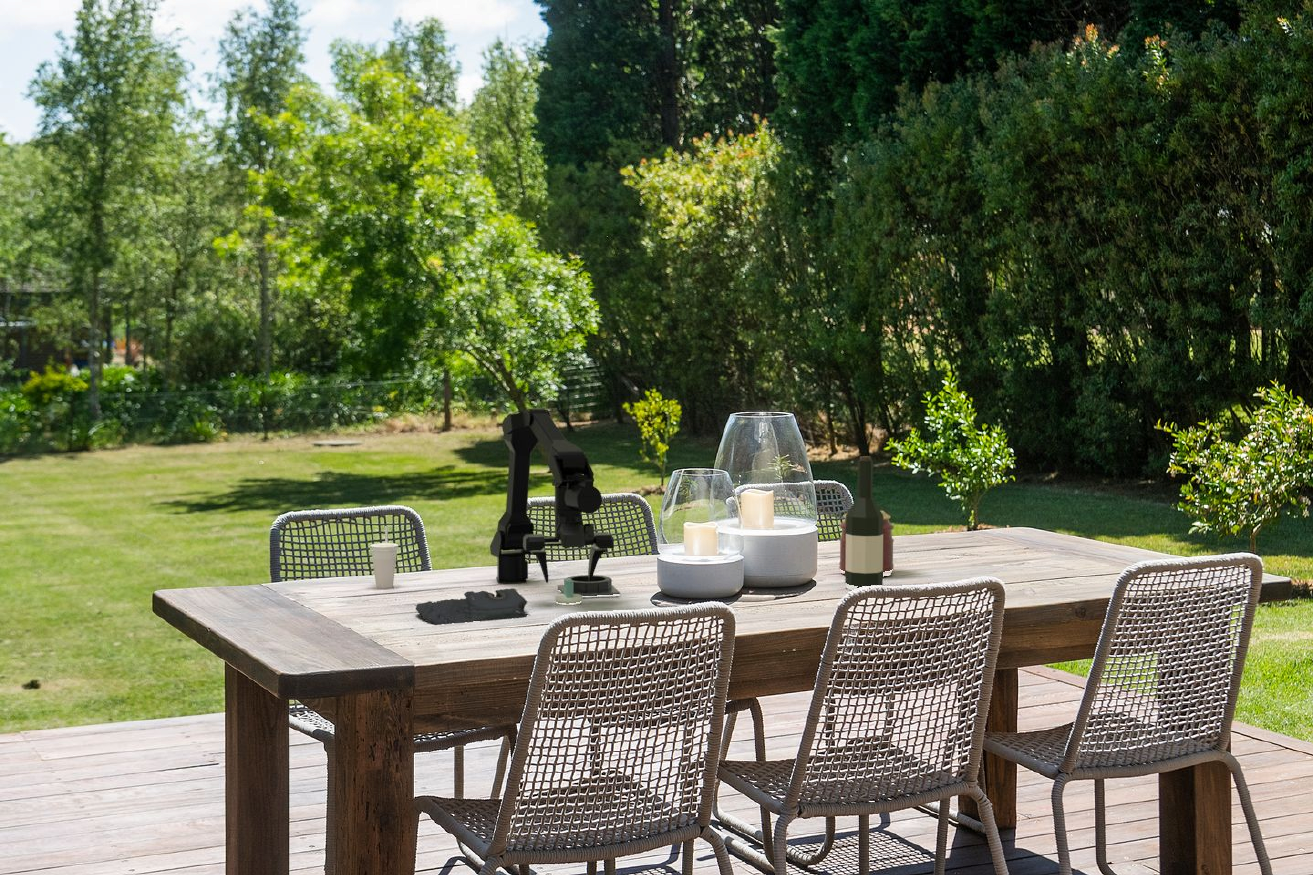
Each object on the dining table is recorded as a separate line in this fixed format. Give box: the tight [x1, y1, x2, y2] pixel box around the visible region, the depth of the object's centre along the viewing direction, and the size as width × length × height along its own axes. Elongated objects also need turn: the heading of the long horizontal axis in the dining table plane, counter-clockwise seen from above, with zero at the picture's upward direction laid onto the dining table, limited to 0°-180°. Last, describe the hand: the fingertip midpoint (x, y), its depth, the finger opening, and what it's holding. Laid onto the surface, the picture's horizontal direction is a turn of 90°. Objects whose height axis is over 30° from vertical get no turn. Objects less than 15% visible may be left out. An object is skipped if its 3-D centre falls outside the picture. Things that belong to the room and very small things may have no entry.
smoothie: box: [369, 525, 399, 590], centre depth 301 cm, size 6×6×14 cm
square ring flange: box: [557, 574, 621, 596], centre depth 294 cm, size 12×12×3 cm
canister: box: [838, 509, 895, 572], centre depth 320 cm, size 13×13×18 cm
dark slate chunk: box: [415, 587, 530, 626], centre depth 270 cm, size 15×22×5 cm
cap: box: [554, 578, 583, 604], centre depth 283 cm, size 6×6×5 cm
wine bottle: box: [844, 455, 884, 588], centre depth 300 cm, size 8×8×30 cm
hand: (568, 581), depth 283 cm, fingers open, 9 cm apart
